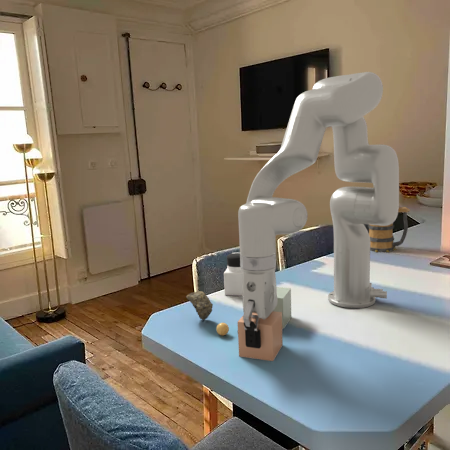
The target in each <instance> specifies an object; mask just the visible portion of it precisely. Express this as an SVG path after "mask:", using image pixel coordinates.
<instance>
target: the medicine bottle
mask: <svg viewBox="0 0 450 450" xmlns="http://www.w3.org/2000/svg"><path fill="white" fill-rule="evenodd" d="M226 265H227V266H226V267H227V268H226V269H225V271H224V272H223V285H224V287H223V288H224V296H235V297H236V296H237V297H239V296H240V297H241V296H242V297H243V273H244V271H242V270H241V266H240V252H231V253H229V254H227V255H226Z"/></svg>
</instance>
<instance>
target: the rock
mask: <svg viewBox="0 0 450 450" xmlns="http://www.w3.org/2000/svg"><path fill="white" fill-rule="evenodd" d="M185 297H186V299H187V300H188V301H189V302H190V303H191V304H192V306H193V308H194V309H195V311H196V314H197V316H198V318H199V319H200V320H202V321H206V320H207V319H208V318H209V316H210V315H211V313H212V312H213V307H214V306H213V305H214V304H213V303H212V302H211V300H210V298H209V297H208V295H206V293H205V292H204V291H200V290H197V291H195V292H190V293H188V294H187V295H186V296H185Z"/></svg>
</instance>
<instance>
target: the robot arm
mask: <svg viewBox="0 0 450 450" xmlns="http://www.w3.org/2000/svg"><path fill="white" fill-rule="evenodd" d="M383 92H384V85H383V82H382V79H381V77H380V76H379V75H378V74H376V73H374V72H372V71H364V72H357V73H350V74H343V75H337V76H331V77H326V78H323V79H320V80H318V81H317V82H315V83H314V85H313V86H312V89H309V90H306V91H304V92H302V93H300V94H299V95H298V96H297V97H296V98H295V101H294V104H293V106H292V110H291V113H290V116H289V120H288V123H287V127H286V129H285V132H284V135H283V139H282V141H281V145H280V148H279V150H278V152H277V153H276V154H275V155H273V156H272V157H271V158H270V159H269V160H268V161H267V162H266V163H265V165H264V166H263V167H262V168H261V169H260V170H259V172H258V173H256V176H255V177H254V179H253V181H252V183H251V186H250V189H249V192H248V194H247V199H246V203H244V204H241V206H239V207H238V208H239V209H238V211H237V213H238V214H237V216H238V218H237V219H238V235H239V236H238V237H239V238H238V240H239V253H240V266H241V270H242V271H244V273H243V296H242V310H243V315H242V316H243V320H244V329H245V341H246V346H247V347H251V348H258V349H259V348H260V347H261V332H260V330H259V324H260V319H261V318H262V319H264V320H265V319H266V318H267V317H268V316H269V315H270V314H271V313H272V311H274V309H275V307H276V306H277V287H278V286H277V276H276V269H277V259H276V258H277V257H276V256H277V251H276V236H278V235H291V234H295V233H297V232H298V233H299V231H300V230H302V229H303V228H304V227H305V225H306V224H307V221H308V215H309V213H308V210H307V207H306V206H305V205H304V203H302V202H301V201H299V200H297V199H293V198H283V197H277V196H276V197H274V194H275V191H276V190H277V188H278V187H279V185H281V184H282V183H283V182H284V181H285V180H287V179H288V178H289V177H291V176H294V175H295V174H297V173H300V172H301V171H303V170H306V169H307V168H309V167H311V166H312V165H313V164H315V163H316V162H317V159H318V156H319V152H320V149H321V146H322V143H323V139H324V135H325V132H326V130H327V128H328V127H331V129H332V136H333V138H332V139H333V158H334V161H333V163H334V172H335V175H336V178H337V179H339V180H340V181H343V182H348V183H365V184H367V183H368V184H372V185H373V186H372V187H366V186H342V187H339V188H337V189H336V190H335V191H334V192H333V193H332V194H331V196H330V200H329V209H330V215H331V219H332V228H333V290H332V291H331V292H330V293H328V296H327V299H328V301H329V302H330V303H331V304H333V305H335V306H338V307H342V308H347V309H363V308H367V307H370V306H372V305H375V304H376V298H380V299H387V298H388V291H386V290H384V288H374V287H373V285H372V282H370V281H371V280H370V278H371V276H370V275H371V251H370V236H369V230H368V228H367V227H366V225H379V226H387V225H390V224H392V223H393V224H394V222H395V221H396V219H397V218H398V215H399V212H398V210H399V208H400V207H399V206H400V167H399V166H400V164H399V158H398V155H397V151H396V150H395V149H394V148H393V147H392V146H390V145H387V144H370V143H369V139H368V138H369V135H368V125H367V121H366V119H365V117H364V116H366V115H367V114H369V113H370V112H372V111H373V110H374V109H376V108H377V107H378V105H379V104H380V102H381V100H382V98H383V95H384V94H383ZM252 313H255V314H258V315H252ZM252 319H256V323H254V322H253V321H251V320H252Z"/></svg>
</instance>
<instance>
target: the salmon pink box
mask: <svg viewBox="0 0 450 450" xmlns="http://www.w3.org/2000/svg"><path fill="white" fill-rule="evenodd" d="M252 315H258V314H255V313H252ZM251 321H253V322H254V323H256V319H252V320H251ZM259 330H260V332H261V347H260V348H259V349H258V348H251V347H247V346H246V341H245V329H244V320H243V315H242V316H241V317H240V318H239V320H238V321H237V331H238V332H237V341H238V342H237V343H238V344H237V345H238V357H241V358H247V359H248V358H249V359H253V360H263V361H268V362H269V361H270V362H274V361H275V359H276V357H277V355H278V354H279V352H280V350H281V348H282V347H283V345H284V344H283V329H282V312H275V311H272V313H271V314H270V315H269V316H268V317H267V318H266V319H265V320H264V319H262V318H261V319H260V324H259Z"/></svg>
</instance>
